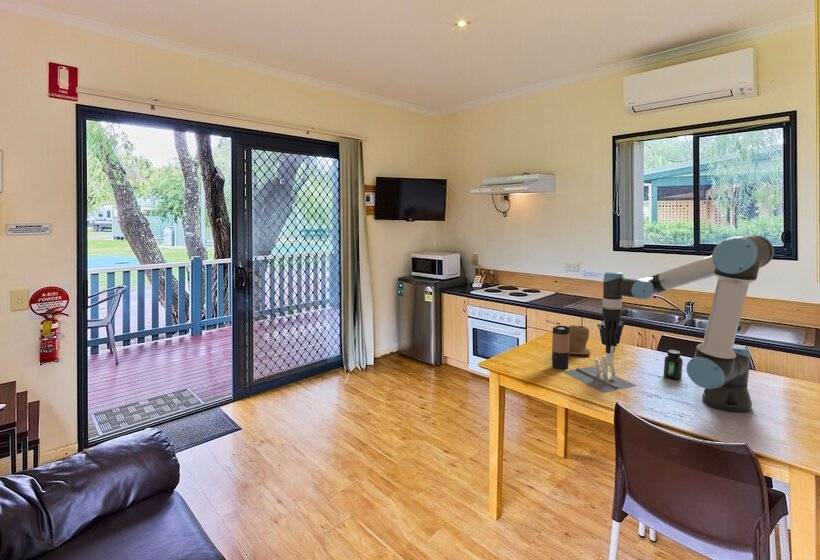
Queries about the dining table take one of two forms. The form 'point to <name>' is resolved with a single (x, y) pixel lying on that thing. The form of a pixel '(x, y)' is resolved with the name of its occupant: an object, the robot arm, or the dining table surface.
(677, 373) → the supplement bottle
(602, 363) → the stool
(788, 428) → the dining table surface
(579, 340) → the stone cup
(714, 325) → the robot arm
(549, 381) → the dining table surface
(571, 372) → the board
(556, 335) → the travel mug
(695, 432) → the dining table surface
